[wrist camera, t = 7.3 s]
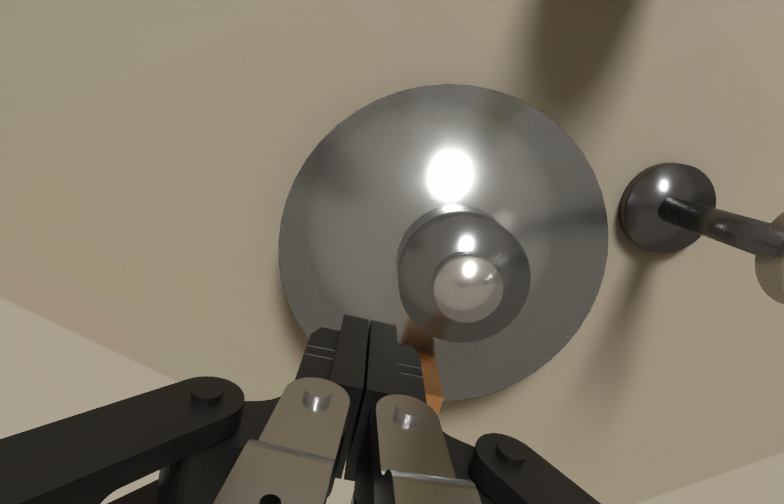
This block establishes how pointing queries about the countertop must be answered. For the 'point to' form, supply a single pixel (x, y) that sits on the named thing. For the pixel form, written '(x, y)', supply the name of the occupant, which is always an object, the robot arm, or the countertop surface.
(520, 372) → the turntable
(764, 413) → the countertop surface
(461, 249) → the cover
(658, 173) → the dial stand
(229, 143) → the countertop surface
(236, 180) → the countertop surface
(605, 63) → the countertop surface
